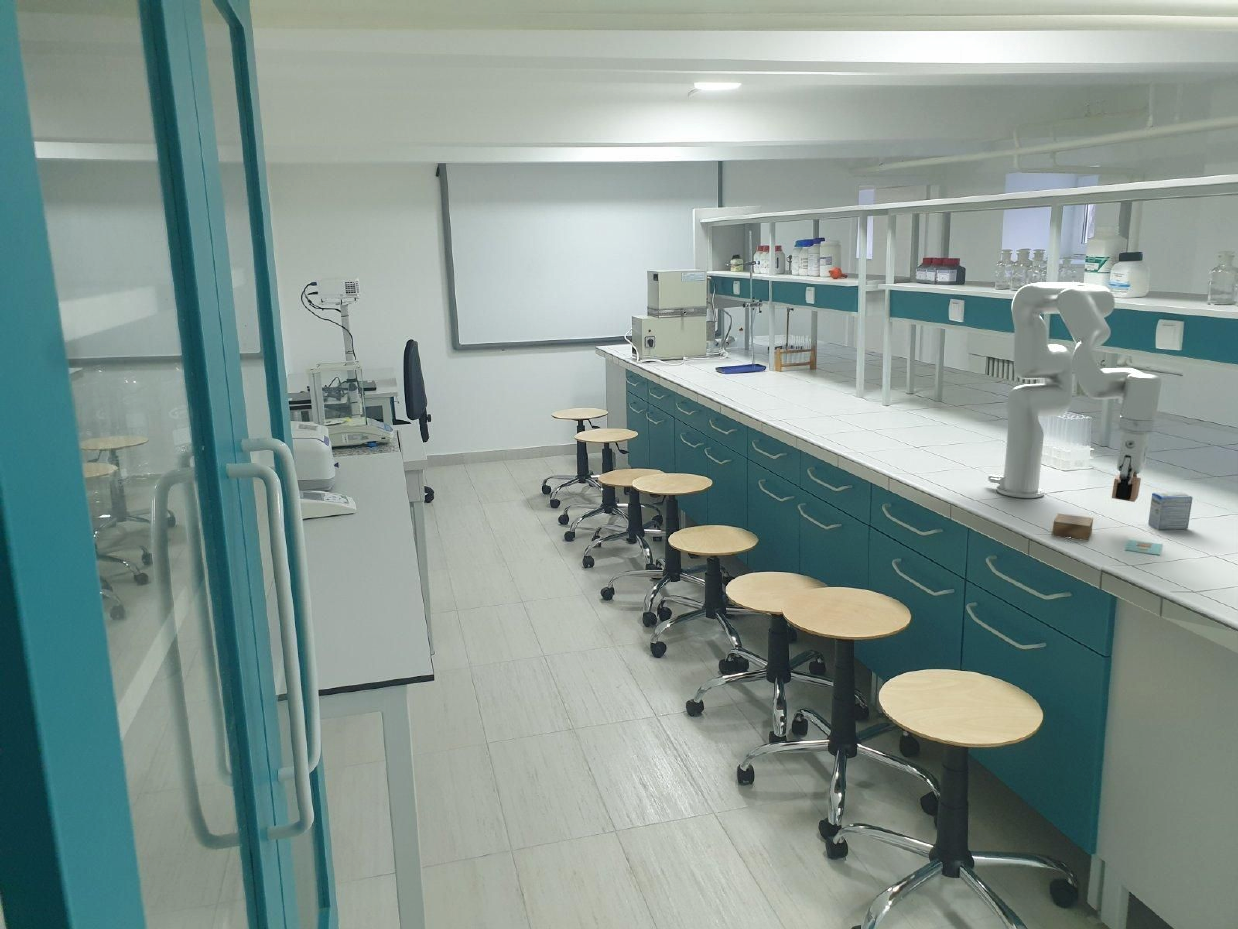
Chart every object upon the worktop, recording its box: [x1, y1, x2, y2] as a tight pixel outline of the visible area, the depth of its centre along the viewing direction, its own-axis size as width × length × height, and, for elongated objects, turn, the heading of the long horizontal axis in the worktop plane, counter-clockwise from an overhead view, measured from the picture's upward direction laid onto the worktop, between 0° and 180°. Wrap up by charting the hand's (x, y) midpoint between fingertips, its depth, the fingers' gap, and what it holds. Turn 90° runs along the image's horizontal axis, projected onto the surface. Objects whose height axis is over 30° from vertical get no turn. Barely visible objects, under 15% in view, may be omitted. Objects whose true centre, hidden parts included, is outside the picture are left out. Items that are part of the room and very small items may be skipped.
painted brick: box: [1111, 473, 1142, 503], centre depth 226 cm, size 5×5×6 cm
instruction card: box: [1124, 539, 1163, 556], centre depth 217 cm, size 7×9×1 cm
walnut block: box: [1051, 513, 1094, 542], centre depth 227 cm, size 8×8×4 cm
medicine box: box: [1147, 491, 1193, 530], centre depth 231 cm, size 8×4×9 cm, turn 92°
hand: (1125, 495), depth 227 cm, fingers closed on painted brick, 5 cm apart
